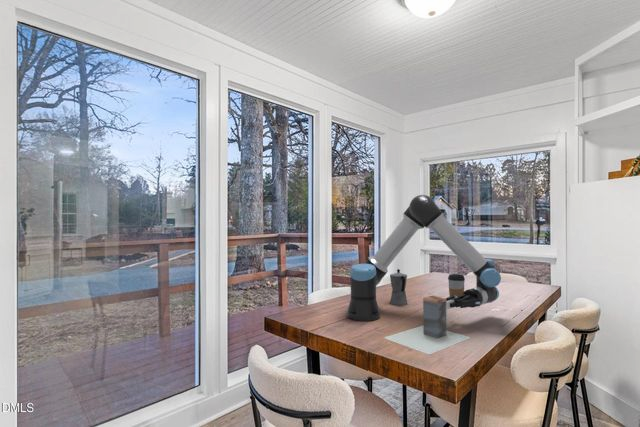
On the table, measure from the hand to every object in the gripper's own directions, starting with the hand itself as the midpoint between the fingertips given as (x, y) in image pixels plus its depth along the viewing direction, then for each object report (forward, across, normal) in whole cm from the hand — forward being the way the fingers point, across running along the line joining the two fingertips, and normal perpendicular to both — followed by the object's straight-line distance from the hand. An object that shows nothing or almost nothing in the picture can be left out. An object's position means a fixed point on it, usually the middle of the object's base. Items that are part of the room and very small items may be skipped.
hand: (443, 306), depth 133 cm
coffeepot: (-25, +42, -11) cm, 50 cm away
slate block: (+5, +1, -10) cm, 11 cm away
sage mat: (+10, +1, -11) cm, 14 cm away
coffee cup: (-48, +23, -11) cm, 55 cm away
